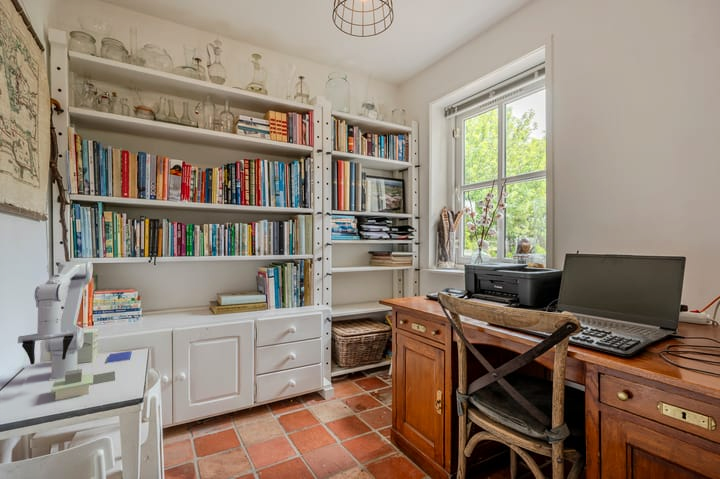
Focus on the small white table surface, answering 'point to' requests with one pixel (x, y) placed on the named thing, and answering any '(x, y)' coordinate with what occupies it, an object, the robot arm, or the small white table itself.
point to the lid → (72, 380)
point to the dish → (72, 392)
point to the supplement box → (88, 346)
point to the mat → (103, 377)
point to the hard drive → (119, 357)
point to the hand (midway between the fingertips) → (48, 361)
